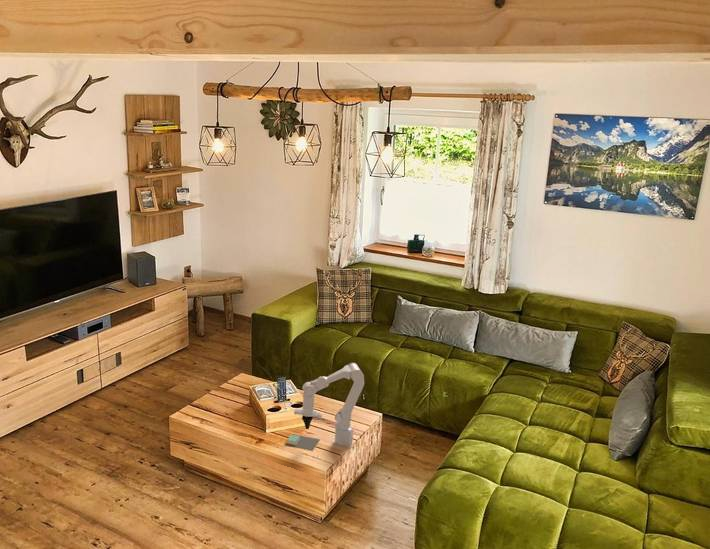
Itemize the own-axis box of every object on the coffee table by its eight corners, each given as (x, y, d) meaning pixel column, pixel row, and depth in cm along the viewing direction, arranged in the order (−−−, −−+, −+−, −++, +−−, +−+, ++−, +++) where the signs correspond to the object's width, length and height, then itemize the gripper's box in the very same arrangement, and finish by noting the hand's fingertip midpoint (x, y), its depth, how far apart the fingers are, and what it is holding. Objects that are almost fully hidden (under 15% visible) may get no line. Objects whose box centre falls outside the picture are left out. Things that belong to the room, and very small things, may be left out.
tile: (300, 436, 332) (291, 434, 333) (295, 441, 327) (287, 440, 328) (299, 439, 333) (291, 437, 334) (295, 445, 327) (286, 443, 328)
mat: (320, 440, 334) (320, 439, 334) (312, 451, 323) (312, 450, 323) (292, 434, 338) (292, 433, 338) (283, 445, 327) (283, 444, 327)
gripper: (324, 403, 325) (323, 426, 328) (297, 399, 328) (296, 422, 331) (320, 409, 318) (319, 433, 322) (293, 405, 321) (292, 428, 325)
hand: (307, 428), depth 326 cm, fingers closed
